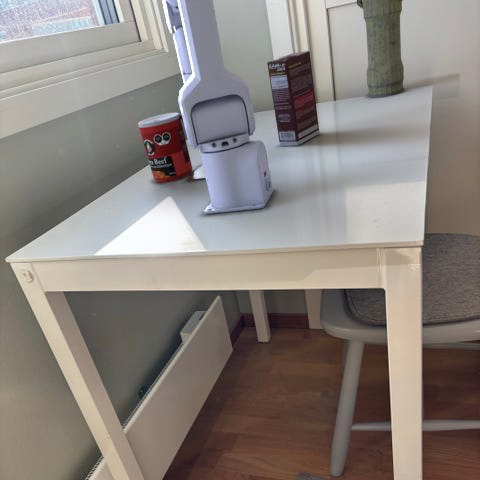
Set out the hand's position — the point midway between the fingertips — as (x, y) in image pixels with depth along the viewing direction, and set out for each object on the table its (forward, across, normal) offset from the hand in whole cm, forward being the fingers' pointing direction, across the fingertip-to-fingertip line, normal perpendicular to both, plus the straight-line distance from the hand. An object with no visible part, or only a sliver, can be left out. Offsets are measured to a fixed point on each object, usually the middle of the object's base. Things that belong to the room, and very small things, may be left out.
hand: (214, 149), depth 95 cm
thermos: (+4, -7, +60) cm, 61 cm away
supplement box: (+4, +2, +20) cm, 21 cm away
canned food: (+4, -8, -6) cm, 10 cm away
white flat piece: (+4, 0, 0) cm, 4 cm away
